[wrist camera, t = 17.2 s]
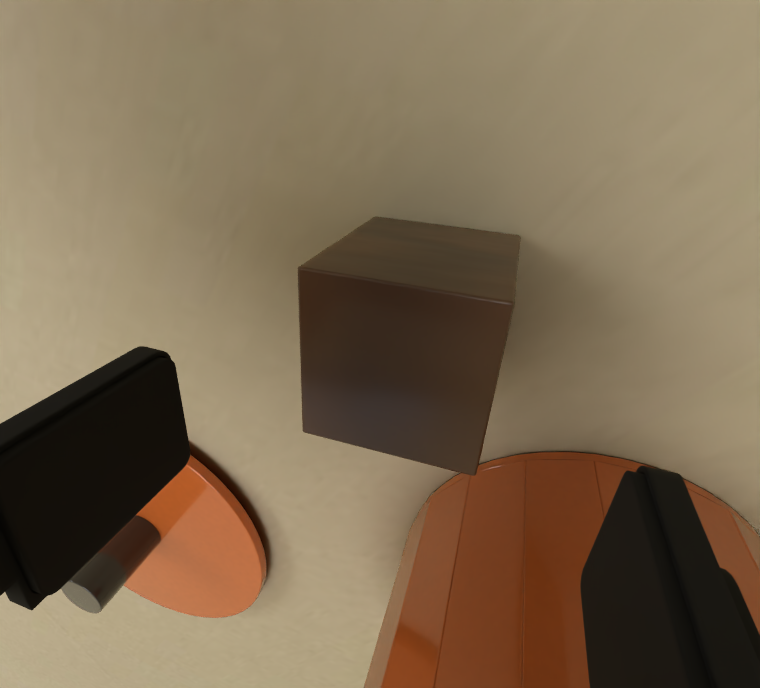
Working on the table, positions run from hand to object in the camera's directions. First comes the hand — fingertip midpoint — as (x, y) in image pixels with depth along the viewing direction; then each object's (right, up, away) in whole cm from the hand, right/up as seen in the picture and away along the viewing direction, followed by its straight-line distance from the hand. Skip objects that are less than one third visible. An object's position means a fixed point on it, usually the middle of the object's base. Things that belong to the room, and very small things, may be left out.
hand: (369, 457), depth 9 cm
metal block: (+2, +4, +7) cm, 8 cm away
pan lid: (-14, -9, +19) cm, 25 cm away
